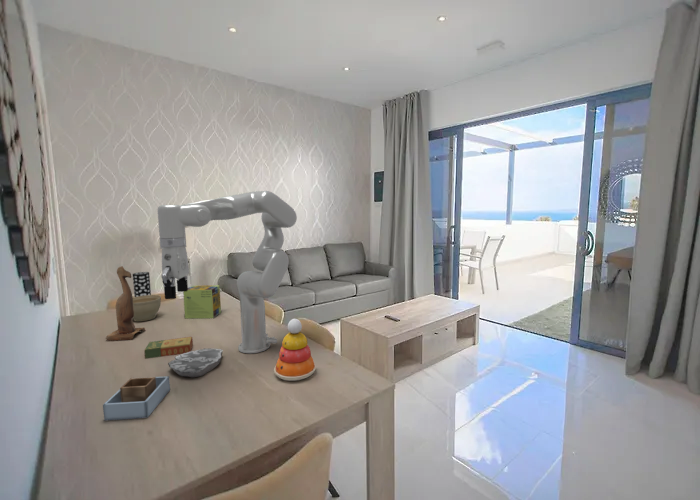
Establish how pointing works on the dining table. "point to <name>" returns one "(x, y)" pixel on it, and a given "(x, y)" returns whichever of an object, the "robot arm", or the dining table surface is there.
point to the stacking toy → (294, 355)
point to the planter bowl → (146, 307)
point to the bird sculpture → (124, 311)
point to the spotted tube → (141, 284)
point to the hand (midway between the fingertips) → (176, 294)
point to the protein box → (202, 302)
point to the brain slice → (196, 362)
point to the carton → (168, 347)
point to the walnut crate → (137, 389)
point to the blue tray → (136, 403)
